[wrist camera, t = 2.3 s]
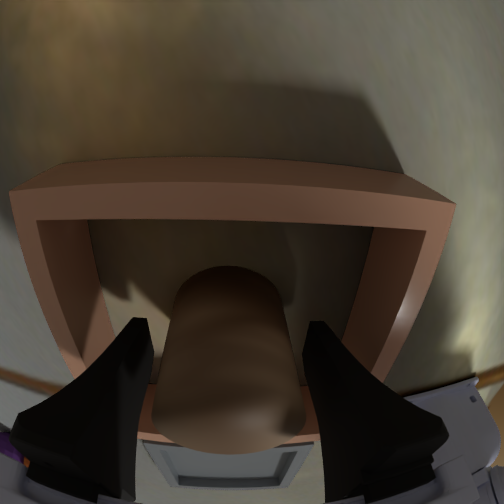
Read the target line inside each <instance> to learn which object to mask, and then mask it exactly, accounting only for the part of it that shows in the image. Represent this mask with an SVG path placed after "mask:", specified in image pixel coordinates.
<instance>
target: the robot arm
mask: <svg viewBox="0 0 504 504" xmlns="http://www.w3.org/2000/svg"><path fill="white" fill-rule="evenodd" d="M153 356H154V349H153V345H152V340H151V336H150V331H149V326H148V322H147V318H137V317H133V318H132V319H131V320H130V321H129V322H128V324H127V325H126V326H125V327H124V328H123V330H122V331H121V332H120V333H119V335H118V336H117V337H116V338H115V339H114V340H113V342H112V343H111V344H110V345H109V346H108V347H107V348H106V350H105V351H104V352H103V353H102V354H101V355H100V356H99V357H98V358H97V359H96V360H95V361H94V362H93V363H92V364H91V365H90V366H89V367H88V368H87V369H86V370H85V371H84V372H83V373H82V374H80V375H79V376H78V377H77V378H76V379H75V380H73V381H72V382H71V383H70V384H68V385H67V386H65V387H64V388H63V389H61V390H60V391H59V392H57V393H56V394H54V395H53V396H51V397H49V398H48V399H46V400H44V401H43V402H41V403H39V404H37V405H35V406H33V407H31V408H29V409H27V410H25V411H23V412H21V413H18V416H17V418H16V420H15V422H14V425H13V428H12V430H11V433H10V435H9V441H10V443H11V444H12V446H13V447H14V448H15V449H17V450H18V451H19V452H20V453H21V454H22V455H23V456H24V457H26V458H27V459H28V460H29V461H30V463H29V467H26V466H25V465H24V464H22V463H20V462H19V461H17V460H15V459H13V458H11V457H9V456H7V455H5V454H3V453H1V452H0V504H141V503H136V502H134V501H135V500H136V496H135V463H136V446H137V435H138V426H139V420H140V414H141V410H142V406H143V402H144V398H145V394H146V391H147V387H148V383H149V379H150V375H151V370H152V364H153ZM302 358H303V365H304V372H305V377H306V380H307V384H308V388H309V391H310V395H311V399H312V402H313V406H314V409H315V413H316V417H317V421H318V426H319V433H320V440H321V448H322V457H323V468H324V482H325V503H323V504H504V467H502V466H498V465H496V466H494V467H493V468H492V467H491V466H490V465H491V464H492V463H493V462H494V460H495V459H496V457H497V456H498V453H499V451H500V445H501V438H500V432H499V429H498V427H497V425H496V423H495V421H494V419H493V417H492V415H491V414H490V412H489V410H488V408H487V406H486V405H485V403H484V401H483V399H482V398H481V396H480V394H479V392H478V391H477V389H476V387H475V385H476V384H477V382H478V381H479V379H478V377H474V378H471V379H468V380H465V381H462V382H459V383H455V384H452V385H449V386H446V387H442V388H439V389H435V390H431V391H428V392H424V393H420V394H416V395H412V396H407V397H404V398H403V397H401V396H400V395H398V394H397V393H395V392H394V391H392V390H391V389H390V388H388V387H387V386H386V385H384V384H383V383H382V382H381V381H380V380H378V379H377V378H376V377H375V376H374V375H372V374H371V373H370V372H369V371H368V370H367V369H366V368H365V367H364V366H363V365H362V364H361V363H360V362H359V361H358V360H357V359H356V358H355V357H354V356H353V355H352V353H351V352H350V351H349V350H348V349H347V348H346V347H345V346H344V344H343V343H342V342H341V341H340V340H339V339H338V337H337V336H336V335H335V334H334V332H333V331H332V330H331V329H330V328H329V326H328V325H327V324H326V323H325V322H324V321H310V323H309V328H308V332H307V336H306V340H305V344H304V348H303V352H302Z"/></svg>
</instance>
